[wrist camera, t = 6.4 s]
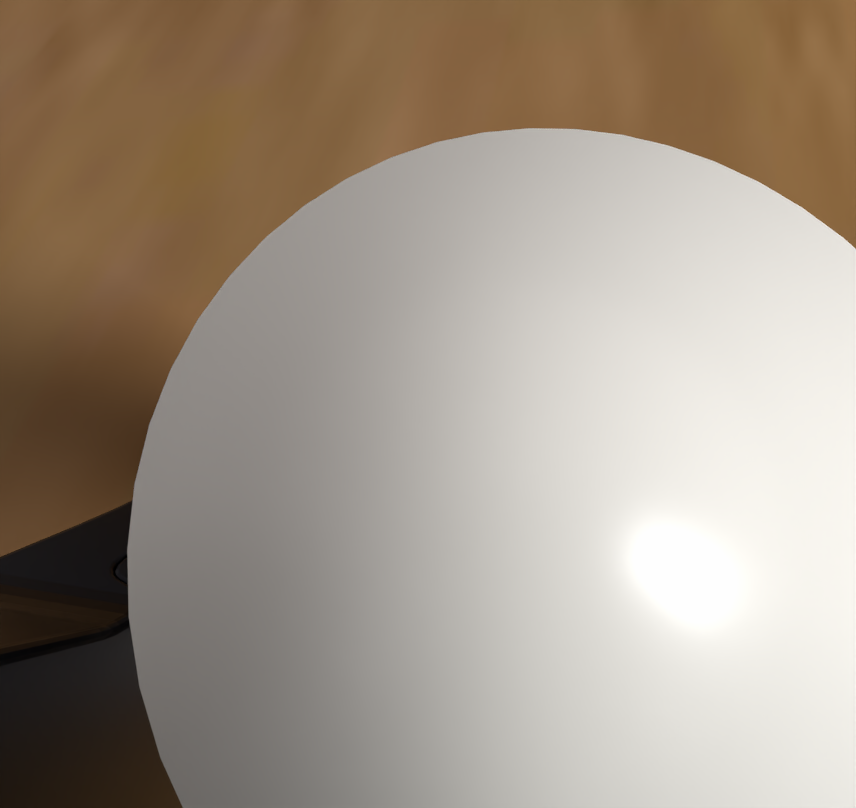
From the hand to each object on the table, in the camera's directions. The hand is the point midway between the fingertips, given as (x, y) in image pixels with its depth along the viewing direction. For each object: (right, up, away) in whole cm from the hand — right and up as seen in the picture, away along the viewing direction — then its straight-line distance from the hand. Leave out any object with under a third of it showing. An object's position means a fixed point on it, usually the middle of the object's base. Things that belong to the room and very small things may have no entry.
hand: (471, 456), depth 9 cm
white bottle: (-1, -3, +6) cm, 7 cm away
